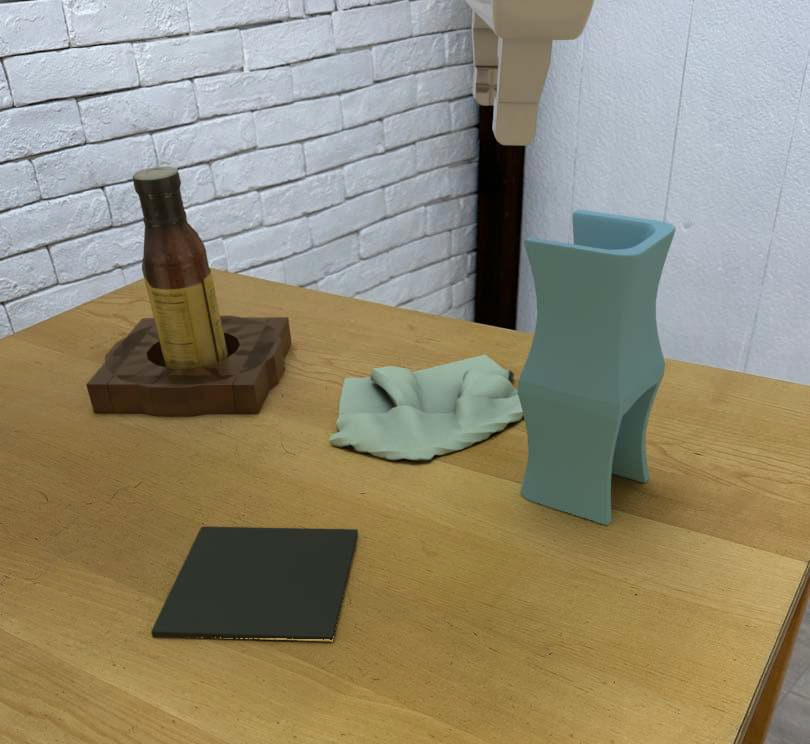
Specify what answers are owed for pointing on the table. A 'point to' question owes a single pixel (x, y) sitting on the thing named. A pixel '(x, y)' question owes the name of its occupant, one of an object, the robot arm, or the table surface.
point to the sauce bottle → (177, 275)
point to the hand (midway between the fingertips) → (499, 121)
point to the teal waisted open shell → (592, 360)
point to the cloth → (426, 409)
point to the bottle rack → (193, 372)
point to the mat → (259, 584)
